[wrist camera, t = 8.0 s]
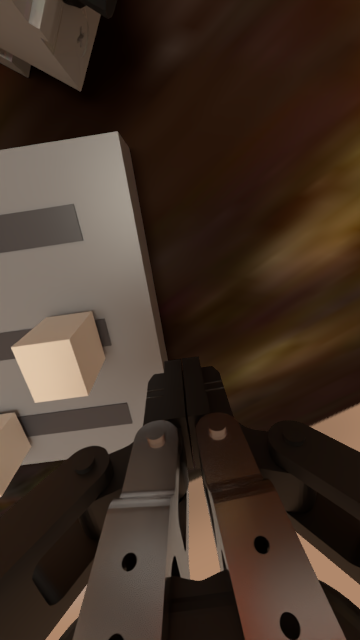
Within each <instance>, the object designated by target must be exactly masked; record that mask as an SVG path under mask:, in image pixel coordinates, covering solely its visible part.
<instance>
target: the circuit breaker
mask: <svg viewBox="0 0 360 640" xmlns="http://www.w3.org/2000/svg"><path fill="white" fill-rule="evenodd" d="M116 3H117V0H0V63H1V64H3V65H5V66H7V67H9V68H11V69H12V70H14V71H16V72H18V73H20V74H22V75H24V76H26V77H27V78H29V73H30V68H31V65H33V66H34V67H36V68H38V69H40V70H42V71H44V72H45V73H47V74H49V75H51V76H53V77H55V78H56V79H58V80H60V81H62V82H64V83H66V84H67V85H69V86H71V87H73V88H75V89H77V90H78V91H81V90H82V86H83V82H84V78H85V74H86V71H87V67H88V63H89V59H90V55H91V51H92V47H93V43H94V39H95V35H96V32H97V28H98V24H99V20H100V16H101V15H102V16H104V17H105V18H107V19H109V18H111V17H112V15H113V13H114V10H115V7H116Z"/></svg>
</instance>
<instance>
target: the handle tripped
mask: <svg viewBox="0 0 360 640" xmlns="http://www.w3.org/2000/svg"><path fill="white" fill-rule="evenodd" d="M11 349H12V351H13V354H14V356H15V358H16V361H17V363H18V365H19V367H20V370H21V372H22V374H23V377H24V379H25V381H26V383H27V386H28V388H29V390H30V393H31V395H32V397H33V399H34V402H35V403H38V402H46V401H53V400H61V399H68V398H76V397H84V396H89V393H90V391H91V389H92V387H93V385H94V382H95V380H96V378H97V376H98V373H99V371H100V369H101V367H102V365H103V362H104V360H105V355H104V352H103V348H102V345H101V341H100V338H99V334H98V331H97V327H96V324H95V320H94V317H93V313H92V311H89V312H82V313H75V314H68V315H61V316H53V317H46V318H45V319H44V320H43V321H41V322H40V323H39V324H38V325H37V326H35V327H34V328H33V329H32V330H31V331H30V332H28V333H27V334H26V335H25V336H24V337H22V338H21V339H20V340H19V341H18V342H17V343H15V344H14V345H13V346H12V347H11Z"/></svg>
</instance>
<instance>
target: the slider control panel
mask: <svg viewBox="0 0 360 640" xmlns="http://www.w3.org/2000/svg"><path fill="white" fill-rule="evenodd" d="M89 311H92V313H93V317H94V320H95V324H96V327H97V331H98V334H99V338H100V341H101V345H102V348H103V352H104V355H105V360H104V362H103V365H102V367H101V369H100V371H99V373H98V376H97V378H96V380H95V382H94V385H93V387H92V389H91V391H90V393H89V396H84V397H76V398H68V399H61V400H53V401H46V402H38V403H35V402H34V399H33V397H32V395H31V393H30V390H29V388H28V386H27V383H26V381H25V379H24V377H23V374H22V372H21V370H20V367H19V365H18V363H17V361H16V358H15V356H14V354H13V351H12V349H11V347H12V346H13V345H14V344H15V343H17V342H18V341H19V340H20V339H21V338H22V337H24V336H25V335H26V334H27V333H28V332H30V331H31V330H32V329H33V328H34V327H35V326H37V325H38V324H39V323H40V322H41V321H43V320H44V319H45V318H46V317H53V316H61V315H68V314H75V313H82V312H89ZM164 361H168V358H167V353H166V347H165V342H164V336H163V331H162V325H161V320H160V314H159V309H158V303H157V298H156V292H155V287H154V281H153V276H152V270H151V265H150V259H149V254H148V248H147V243H146V237H145V232H144V226H143V221H142V215H141V210H140V204H139V199H138V193H137V188H136V182H135V177H134V171H133V166H132V160H131V155H130V149H129V147H128V146H127V144H126V143H125V141H124V140H123V138H122V137H121V135H120V134H119V133H118V131H117V132H111V133H104V134H98V135H92V136H86V137H79V138H73V139H67V140H61V141H54V142H48V143H42V144H36V145H30V146H23V147H17V148H11V149H5V150H0V414H6V413H14V412H15V414H16V416H17V418H18V420H19V422H20V424H21V426H22V429H23V431H24V433H25V435H26V437H27V439H28V441H29V443H30V445H31V448H30V450H29V451H28V453H27V455H26V456H25V458H24V460H23V461H22V463H21V465H25V464H33V463H41V462H49V461H57V460H65V459H68V458H69V457H70V456H72V455H73V454H74V453H75V452H77V451H79V450H81V449H83V448H85V447H89V446H101V447H103V448H105V449H106V450H107V452H108V454H110V453H113V452H115V451H117V450H120V449H122V448H124V447H126V446H128V445H130V444H131V443H132V442H134V438H135V435H136V433H137V432H138V430H139V429H140V428H141V427H143V422H144V413H145V405H146V396H147V387H148V382H149V380H150V379H151V377H152V376H153V375H154V374H159V373H164Z"/></svg>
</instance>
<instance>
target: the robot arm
mask: <svg viewBox="0 0 360 640" xmlns="http://www.w3.org/2000/svg"><path fill="white" fill-rule="evenodd" d="M182 363H183V370H182ZM182 363H181V359H177V360H170V361H164V373H159V374H154V375H153V376H152V377H151V379H150V380H149V382H148V387H147V396H146V405H145V413H144V422H143V427H141V428H140V429H139V430H138V432H137V433H136V435H135V438H134V442H132V443H131V444H130V445H128V446H126V447H124V448H122V449H120V450H117V451H115V452H113V453H110V454H108V452H107V450H106V449H105V448H103V447H101V446H89V447H85V448H83V449H81V450H79V451H77V452H75V453H74V454H73V455H72V456H70V457H69V458H68V459H67V460H66V461H65V462H63V463H62V464H61V465H60V466H59V467H58V468H56V469H55V470H54V471H53V472H52V473H51V474H49V475H48V476H47V477H46V478H45V479H44V480H43V481H41V482H40V483H39V484H38V485H37V486H36V487H34V488H33V489H32V490H31V491H30V492H29V493H27V494H26V495H25V496H24V497H23V498H22V499H20V500H19V501H18V502H17V503H16V504H15V505H14V506H12V507H11V508H10V509H9V510H8V511H7V512H5V513H4V514H3V515H2V516H1V517H0V640H45V639H46V638H47V637H48V635H49V634H50V633H51V631H52V630H53V629H54V627H55V626H56V624H57V623H58V622H59V621H60V619H61V618H62V617H63V615H64V614H65V613H66V611H67V610H68V609H69V607H70V606H71V605H72V603H73V602H74V601H75V599H76V598H77V597H78V595H79V594H80V593H81V591H82V590H83V589H84V587H85V586H86V585H87V588H86V592H85V595H84V599H83V603H82V606H81V610H80V614H79V617H78V618H77V619H76V620H75V621H74V622H73V623H72V624H71V625H70V627H69V628H68V629H67V630H66V631H65V633H64V634H63V635H62V636H61V637H60V639H59V640H360V609H359V608H358V607H357V606H356V605H354V604H353V603H352V602H351V601H350V600H349V599H347V598H346V597H345V596H343V595H342V594H341V593H340V592H338V591H337V590H335V589H333V588H332V587H330V586H329V585H327V584H326V583H324V582H322V581H320V580H318V579H317V576H316V574H315V572H314V570H313V568H312V566H311V564H310V562H309V559H308V557H307V555H306V553H305V551H304V549H303V547H302V545H301V543H300V540H299V538H298V536H297V534H296V532H297V533H298V534H300V535H301V536H302V537H303V538H304V539H305V540H307V541H308V542H309V543H310V544H312V545H313V546H314V547H315V548H316V549H318V550H319V551H320V552H321V553H322V554H324V555H325V556H326V557H327V558H328V559H330V560H331V561H332V562H333V563H335V564H336V565H337V566H338V567H339V568H341V569H342V570H343V571H344V572H345V573H346V574H348V575H349V576H350V577H351V578H353V579H354V580H355V581H356V582H357V583H359V584H360V452H358V451H356V450H354V449H352V448H350V447H348V446H346V445H345V444H343V443H340V442H339V441H337V440H335V439H333V438H330V437H329V436H327V435H325V434H323V433H321V432H319V431H317V430H315V429H313V428H311V427H309V426H307V425H305V424H303V423H300V422H297V421H281V422H278V423H276V424H274V425H273V426H272V427H271V428H270V430H269V432H267V431H259V430H253V429H249V428H247V427H244V426H243V425H241V424H240V423H238V421H237V420H236V419H235V418H234V417H233V414H232V411H231V408H230V405H229V402H228V399H227V395H226V392H225V389H224V386H223V383H222V380H221V377H220V374H219V372H218V371H217V370H216V369H215V368H214V367H212V366H210V367H202V368H201V366H200V362H199V357H191V358H184V359H182ZM183 373H184V376H183ZM190 434H191V435H190ZM191 441H192V445H191ZM192 447H193V454H194V460H195V467H196V468H201V472H202V479H203V485H204V492H205V497H206V502H207V506H208V511H209V516H210V521H211V526H212V530H213V535H214V540H215V544H216V550H217V554H218V560H219V565H220V571H221V572H219V573H217V574H215V575H213V576H211V577H209V578H207V579H205V580H202V581H194V580H190V572H189V556H188V543H189V540H188V539H189V535H188V533H189V526H188V524H189V504H188V503H189V493H188V484H189V481H188V469H194V465H193V455H192ZM295 531H296V532H295Z"/></svg>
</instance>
